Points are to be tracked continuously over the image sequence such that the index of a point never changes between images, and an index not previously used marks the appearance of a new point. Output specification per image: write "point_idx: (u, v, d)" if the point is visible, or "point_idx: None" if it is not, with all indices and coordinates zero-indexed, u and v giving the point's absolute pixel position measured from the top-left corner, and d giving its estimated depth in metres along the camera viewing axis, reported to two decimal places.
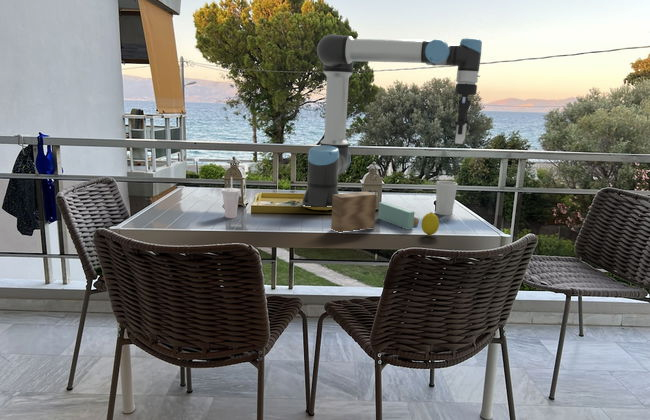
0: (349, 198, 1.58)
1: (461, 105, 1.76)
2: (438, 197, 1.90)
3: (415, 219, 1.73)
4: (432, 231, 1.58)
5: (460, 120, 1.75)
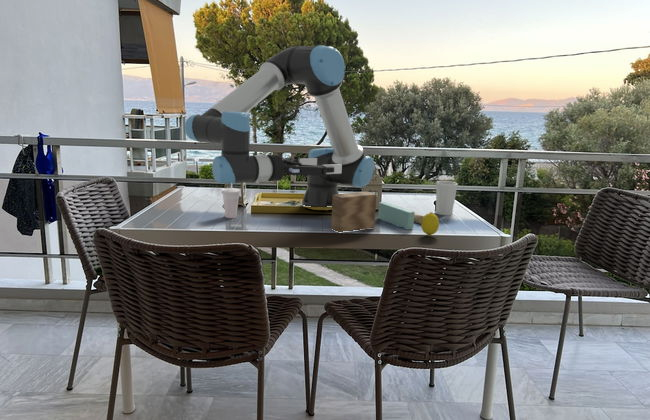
0: (349, 198, 1.58)
1: None
2: (438, 197, 1.90)
3: None
4: (432, 231, 1.58)
5: None
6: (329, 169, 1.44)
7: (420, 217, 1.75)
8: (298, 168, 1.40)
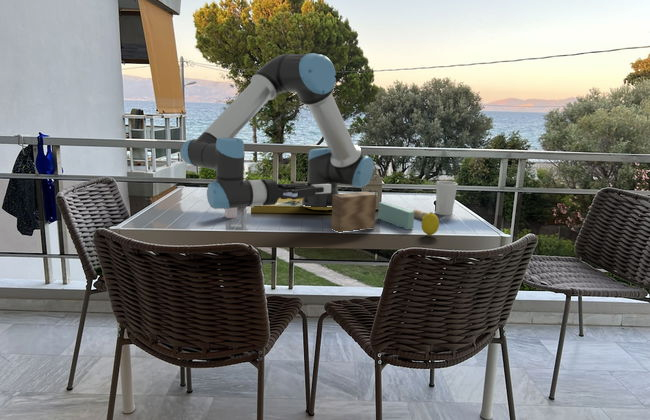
0: (349, 198, 1.58)
1: None
2: (438, 197, 1.90)
3: None
4: (432, 231, 1.58)
5: None
6: (318, 189, 1.52)
7: None
8: (297, 192, 1.43)
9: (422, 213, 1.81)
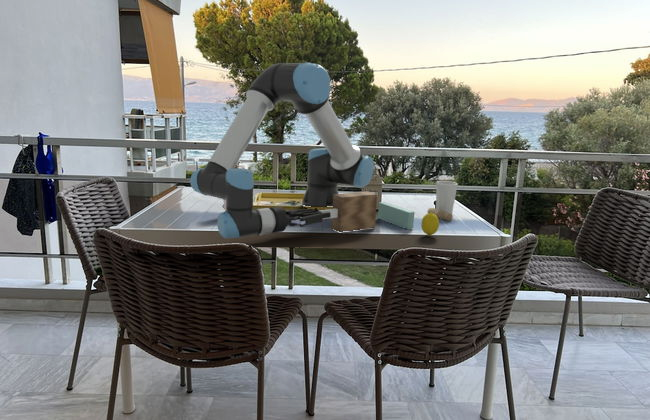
0: (350, 198, 1.58)
1: None
2: (438, 197, 1.90)
3: (448, 215, 1.81)
4: (432, 231, 1.58)
5: None
6: (325, 215, 1.55)
7: None
8: (305, 219, 1.47)
9: (437, 213, 1.85)
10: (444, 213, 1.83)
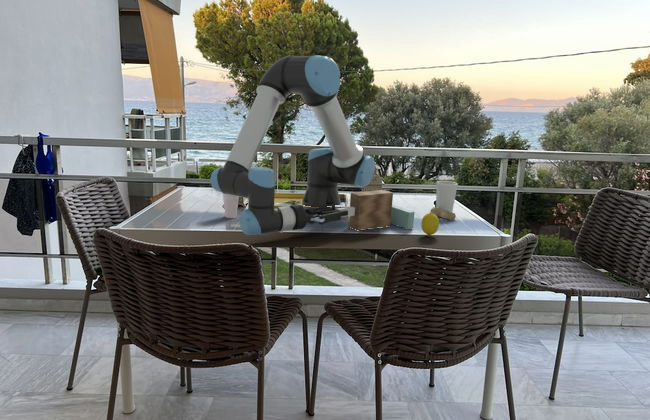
0: (367, 196, 1.62)
1: None
2: (438, 197, 1.90)
3: (453, 214, 1.83)
4: (432, 231, 1.58)
5: None
6: (343, 213, 1.59)
7: None
8: (324, 217, 1.51)
9: (442, 210, 1.86)
10: (450, 212, 1.84)
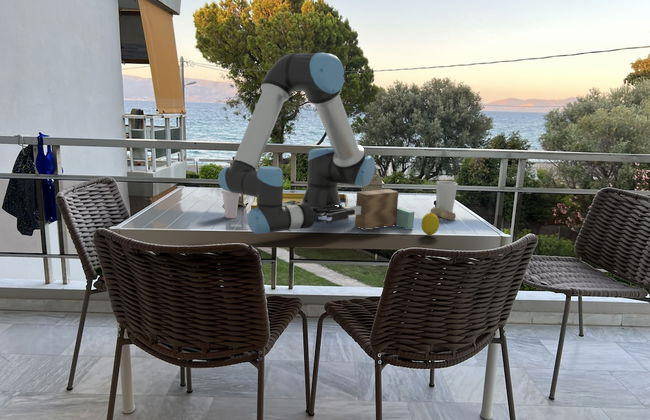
0: (373, 195, 1.64)
1: None
2: (438, 197, 1.90)
3: (454, 214, 1.83)
4: (432, 231, 1.58)
5: None
6: (350, 212, 1.61)
7: None
8: (331, 216, 1.52)
9: (442, 210, 1.86)
10: (450, 212, 1.84)
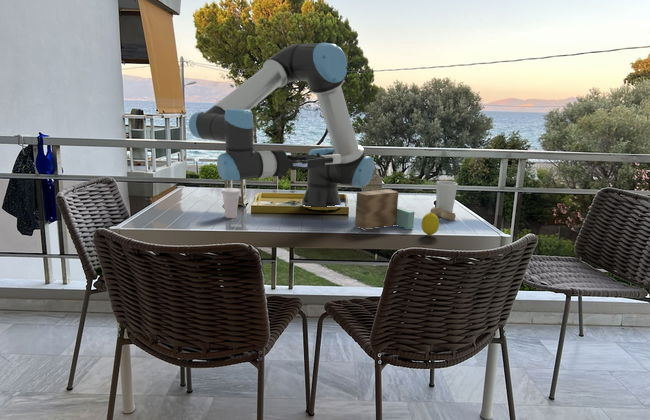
0: (373, 196, 1.64)
1: None
2: (438, 197, 1.90)
3: (453, 214, 1.83)
4: (432, 231, 1.58)
5: None
6: (328, 160, 1.51)
7: None
8: (307, 162, 1.43)
9: (442, 210, 1.86)
10: (450, 212, 1.84)
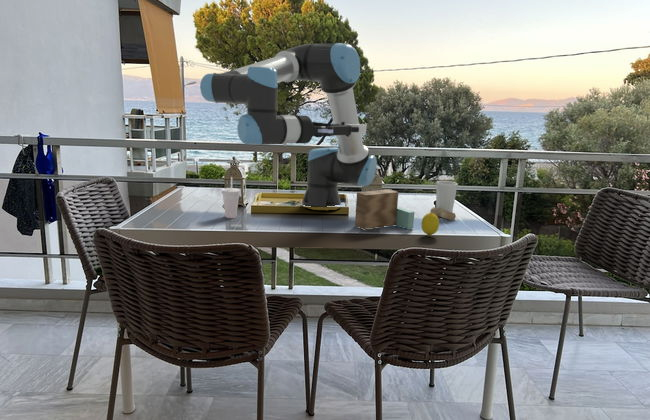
0: (373, 196, 1.64)
1: None
2: (438, 197, 1.90)
3: (453, 214, 1.83)
4: (432, 231, 1.58)
5: None
6: (354, 129, 1.42)
7: None
8: (333, 128, 1.34)
9: (442, 210, 1.86)
10: (450, 212, 1.84)
